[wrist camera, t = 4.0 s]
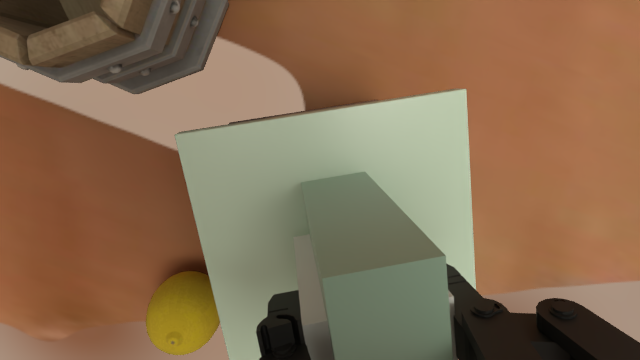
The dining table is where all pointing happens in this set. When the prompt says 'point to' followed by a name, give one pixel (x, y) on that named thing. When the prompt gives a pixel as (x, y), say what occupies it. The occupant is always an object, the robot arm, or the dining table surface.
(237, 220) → the lid
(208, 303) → the lemon
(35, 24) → the tankard
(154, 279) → the dining table surface
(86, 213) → the dining table surface
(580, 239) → the dining table surface
